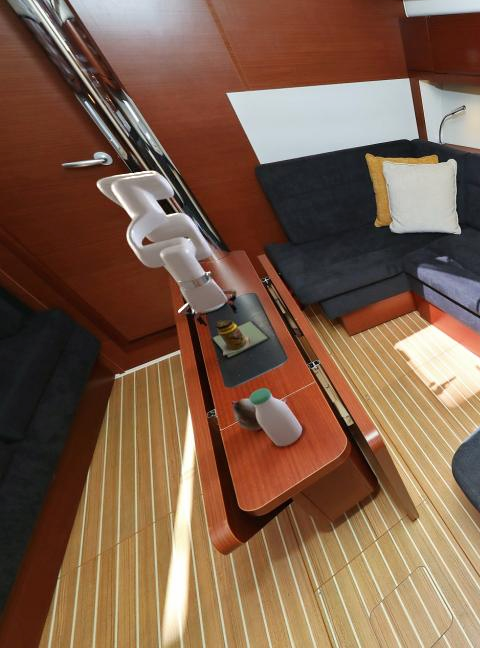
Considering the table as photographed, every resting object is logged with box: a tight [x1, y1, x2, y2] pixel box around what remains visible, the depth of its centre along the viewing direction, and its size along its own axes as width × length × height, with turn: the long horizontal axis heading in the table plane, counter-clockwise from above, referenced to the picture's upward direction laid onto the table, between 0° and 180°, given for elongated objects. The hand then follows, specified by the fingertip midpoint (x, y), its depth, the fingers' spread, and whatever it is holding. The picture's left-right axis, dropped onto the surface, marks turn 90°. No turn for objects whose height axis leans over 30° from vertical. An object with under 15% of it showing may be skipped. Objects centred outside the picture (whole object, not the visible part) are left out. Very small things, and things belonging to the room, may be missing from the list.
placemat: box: [212, 320, 269, 359], centre depth 135 cm, size 18×14×1 cm
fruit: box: [230, 398, 263, 432], centre depth 100 cm, size 10×9×12 cm
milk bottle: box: [249, 387, 303, 447], centre depth 94 cm, size 8×8×20 cm
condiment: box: [215, 318, 249, 356], centre depth 127 cm, size 7×8×12 cm
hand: (220, 318), depth 123 cm, fingers open, 9 cm apart
